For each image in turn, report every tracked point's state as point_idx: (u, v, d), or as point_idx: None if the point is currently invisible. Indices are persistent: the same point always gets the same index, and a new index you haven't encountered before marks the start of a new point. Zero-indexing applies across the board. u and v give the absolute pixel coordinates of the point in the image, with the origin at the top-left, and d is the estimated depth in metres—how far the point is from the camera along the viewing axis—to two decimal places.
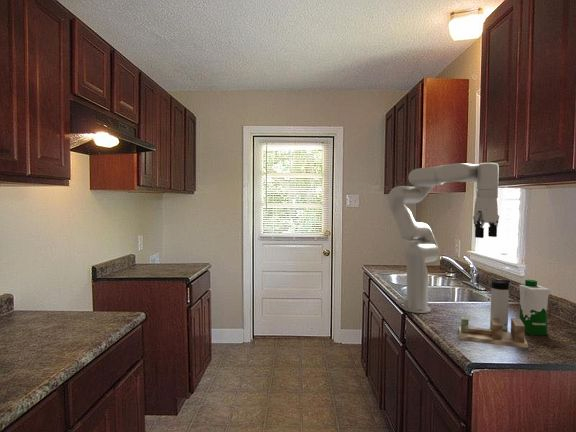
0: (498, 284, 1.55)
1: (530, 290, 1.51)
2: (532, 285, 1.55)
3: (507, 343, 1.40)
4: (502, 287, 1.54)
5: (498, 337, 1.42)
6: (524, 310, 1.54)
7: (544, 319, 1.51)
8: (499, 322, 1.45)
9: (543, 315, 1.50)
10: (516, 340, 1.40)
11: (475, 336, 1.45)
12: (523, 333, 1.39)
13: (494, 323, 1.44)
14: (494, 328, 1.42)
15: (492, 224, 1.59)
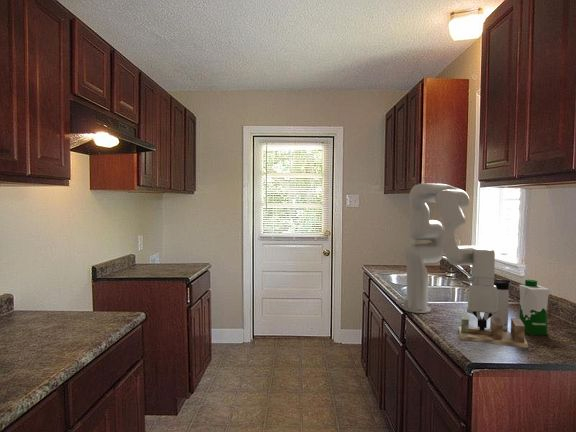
0: (498, 284, 1.55)
1: (530, 290, 1.51)
2: (532, 285, 1.55)
3: (507, 343, 1.40)
4: (502, 287, 1.54)
5: (498, 337, 1.42)
6: (524, 310, 1.54)
7: (544, 319, 1.51)
8: (499, 322, 1.45)
9: (543, 315, 1.50)
10: (516, 340, 1.40)
11: (475, 336, 1.45)
12: (523, 333, 1.39)
13: (494, 323, 1.44)
14: (494, 328, 1.42)
15: (480, 316, 1.48)
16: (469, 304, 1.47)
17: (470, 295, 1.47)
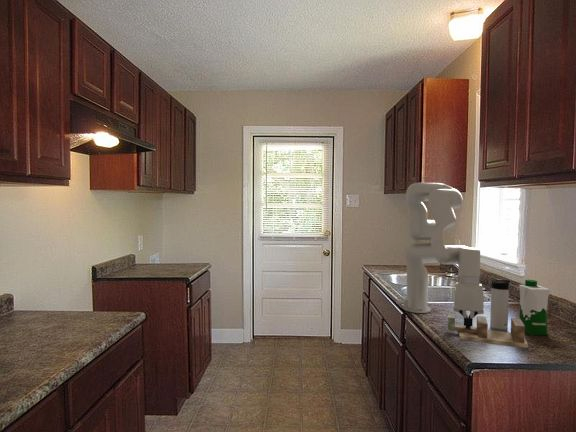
0: (498, 284, 1.55)
1: (530, 290, 1.51)
2: (532, 285, 1.55)
3: (507, 343, 1.40)
4: (502, 287, 1.54)
5: (483, 335, 1.44)
6: (524, 310, 1.54)
7: (544, 319, 1.51)
8: (485, 320, 1.47)
9: (543, 315, 1.50)
10: (516, 340, 1.40)
11: (475, 336, 1.45)
12: (523, 333, 1.39)
13: (480, 321, 1.46)
14: (480, 326, 1.44)
15: None
16: (455, 303, 1.49)
17: (456, 293, 1.49)
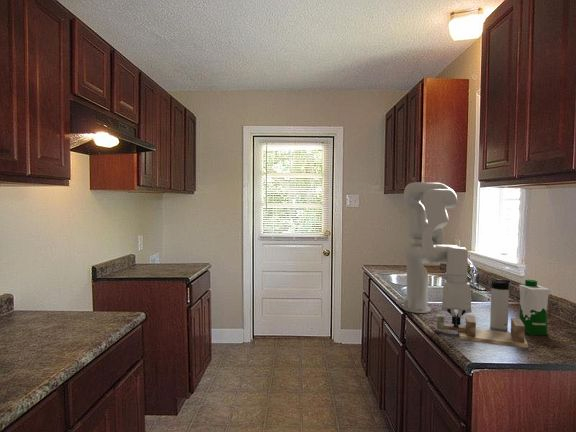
0: (498, 284, 1.55)
1: (530, 290, 1.51)
2: (532, 285, 1.55)
3: (507, 343, 1.40)
4: (502, 287, 1.54)
5: (472, 334, 1.45)
6: (524, 310, 1.54)
7: (544, 319, 1.51)
8: (473, 319, 1.49)
9: (543, 315, 1.50)
10: (516, 340, 1.40)
11: (475, 336, 1.45)
12: (523, 333, 1.39)
13: (468, 320, 1.47)
14: (468, 325, 1.46)
15: (454, 313, 1.51)
16: (443, 301, 1.51)
17: (444, 292, 1.51)
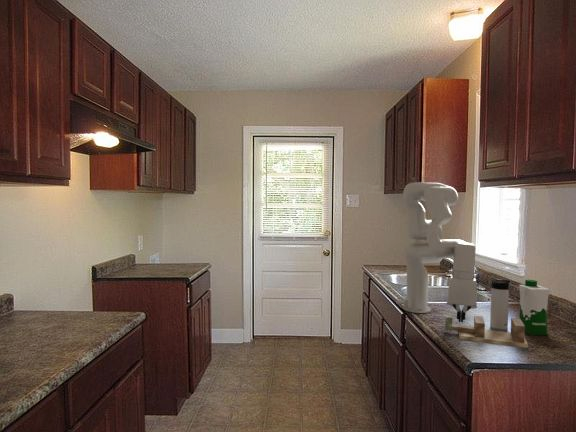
0: (498, 284, 1.55)
1: (530, 290, 1.51)
2: (532, 285, 1.55)
3: (507, 343, 1.40)
4: (502, 287, 1.54)
5: (481, 335, 1.44)
6: (524, 310, 1.54)
7: (544, 319, 1.51)
8: (482, 320, 1.47)
9: (543, 315, 1.50)
10: (516, 340, 1.40)
11: (475, 336, 1.45)
12: (523, 333, 1.39)
13: (477, 321, 1.46)
14: (477, 326, 1.45)
15: None
16: (449, 297, 1.51)
17: (450, 288, 1.50)
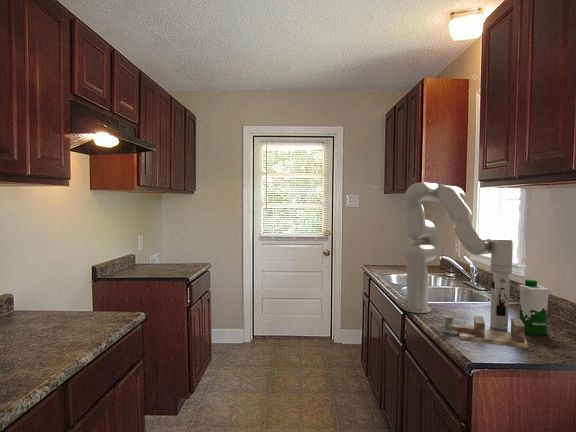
0: None
1: (530, 290, 1.51)
2: (532, 285, 1.55)
3: (507, 343, 1.40)
4: None
5: (481, 335, 1.44)
6: (524, 310, 1.54)
7: (544, 319, 1.51)
8: (482, 320, 1.47)
9: (543, 315, 1.50)
10: (516, 340, 1.40)
11: (475, 336, 1.45)
12: (523, 333, 1.39)
13: (477, 321, 1.46)
14: (477, 326, 1.45)
15: None
16: (509, 293, 1.52)
17: (509, 284, 1.52)
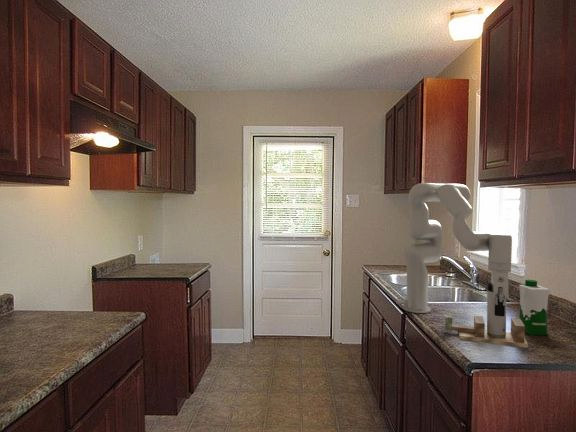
0: None
1: (530, 290, 1.51)
2: (532, 285, 1.55)
3: (507, 343, 1.40)
4: None
5: (481, 335, 1.44)
6: (524, 310, 1.54)
7: (544, 319, 1.51)
8: (482, 320, 1.47)
9: (543, 315, 1.50)
10: (516, 340, 1.40)
11: (475, 336, 1.45)
12: (523, 333, 1.39)
13: (477, 321, 1.46)
14: (477, 326, 1.45)
15: None
16: None
17: None
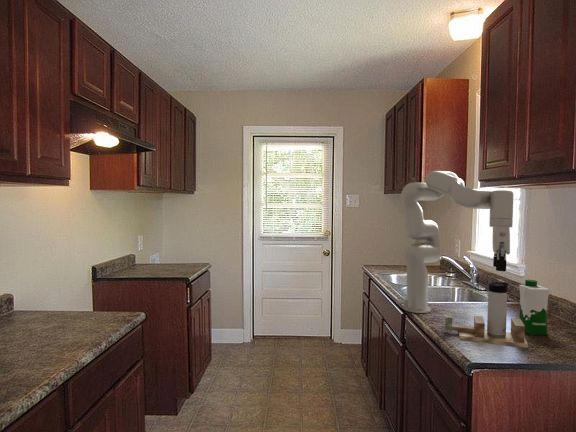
0: (495, 287, 1.44)
1: (530, 290, 1.51)
2: (532, 285, 1.55)
3: (507, 343, 1.40)
4: (499, 290, 1.43)
5: (481, 335, 1.44)
6: (524, 310, 1.54)
7: (544, 319, 1.51)
8: (482, 320, 1.47)
9: (543, 315, 1.50)
10: (516, 340, 1.40)
11: (475, 336, 1.45)
12: (523, 333, 1.39)
13: (477, 321, 1.46)
14: (477, 326, 1.45)
15: None
16: (509, 248, 1.40)
17: (509, 238, 1.40)
